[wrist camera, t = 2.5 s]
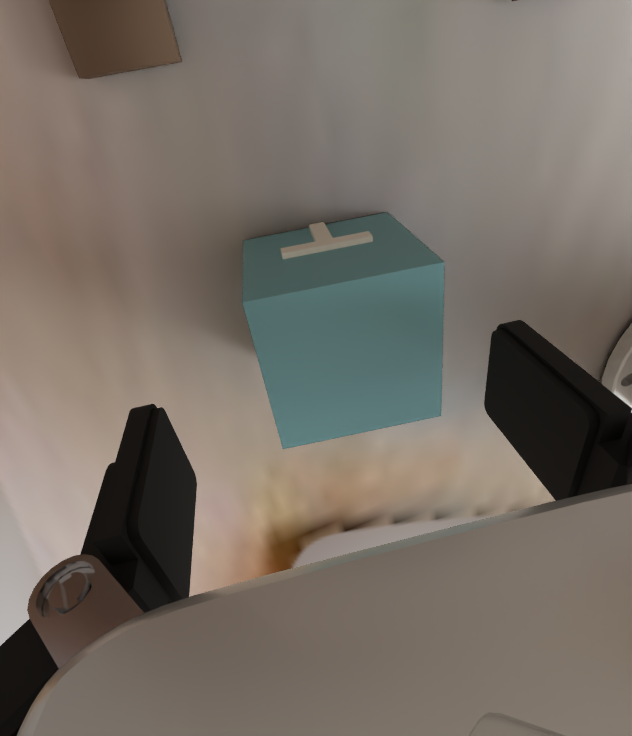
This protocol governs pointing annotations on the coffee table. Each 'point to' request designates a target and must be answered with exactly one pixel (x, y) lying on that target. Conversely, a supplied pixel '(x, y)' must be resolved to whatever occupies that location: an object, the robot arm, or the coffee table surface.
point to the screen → (116, 35)
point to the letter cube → (346, 326)
